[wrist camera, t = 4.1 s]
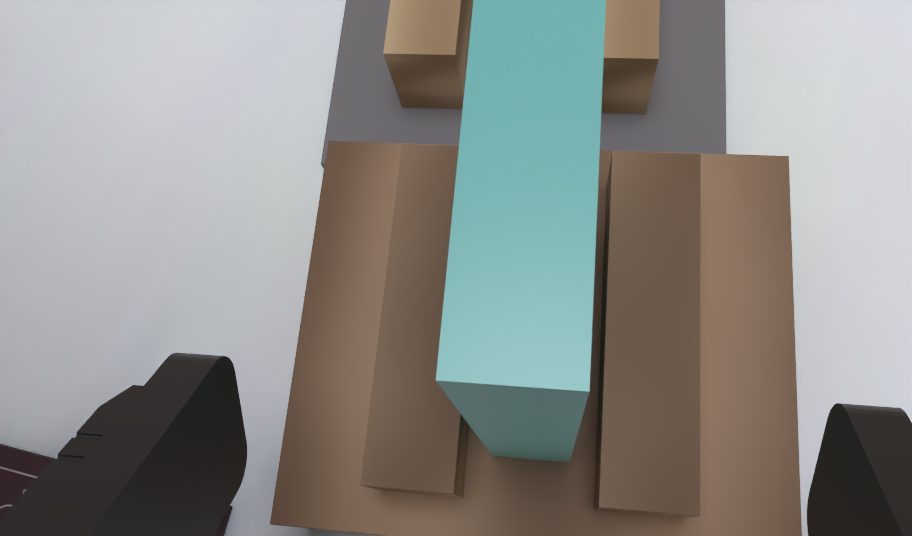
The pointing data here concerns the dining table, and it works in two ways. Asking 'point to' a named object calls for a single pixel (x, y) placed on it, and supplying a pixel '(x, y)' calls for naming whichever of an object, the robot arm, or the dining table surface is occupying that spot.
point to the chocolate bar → (13, 470)
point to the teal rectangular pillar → (525, 226)
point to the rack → (447, 43)
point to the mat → (659, 130)
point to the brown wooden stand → (611, 374)
